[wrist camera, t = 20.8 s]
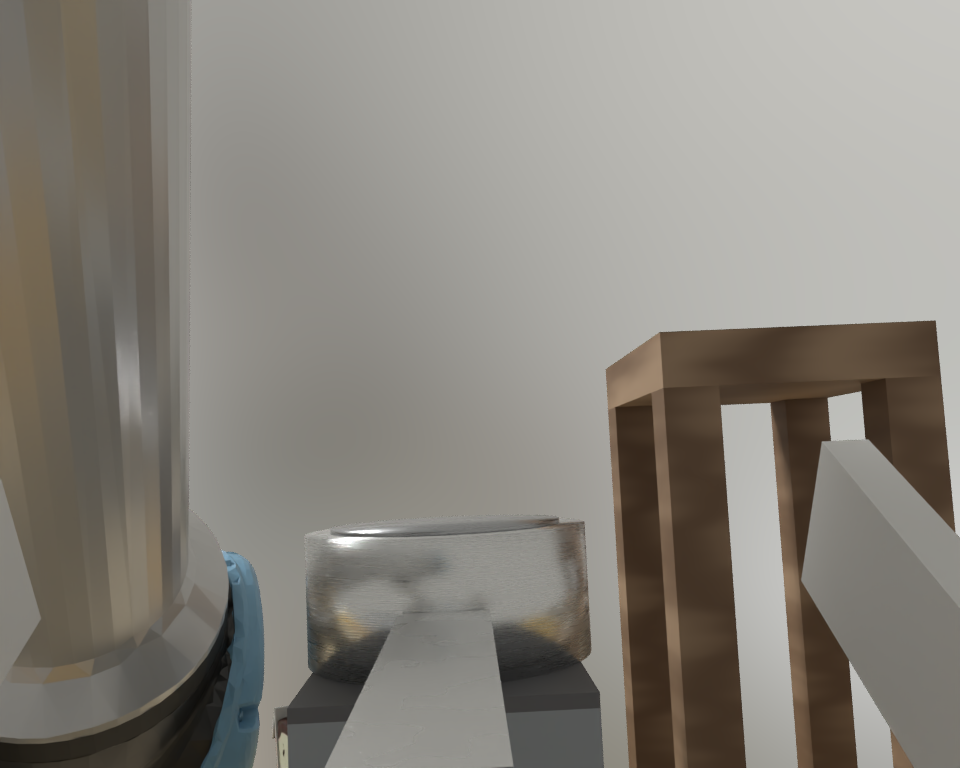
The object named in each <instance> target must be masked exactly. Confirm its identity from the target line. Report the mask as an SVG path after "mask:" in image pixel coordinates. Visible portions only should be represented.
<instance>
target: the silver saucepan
mask: <svg viewBox="0 0 960 768" xmlns="http://www.w3.org/2000/svg"><path fill="white" fill-rule="evenodd" d="M585 544H586V543H585V525H584V521H582V520H577V519H569V518H559V517H556V516H546V515H475V516H451V517H450V516H449V517H429V518H415V519H414V518H413V519H398V520H386V521H375V522H364V523H356V524H348V525H342V526H336V527H333V528H331V529H327V530H321V531H315V532H311V533H308V534H306V535H305V565H306V602H307V636H308V637H307V638H308V667H309V669H310V670H311V671H312V672H313V673H315V674H317V675H319V676H321V677H324V678H327V679H330V680H334V681H339V682H344V683H350V684H358V685H364V687H363V689H362V691H361V693H360V695H359V697H358V699H357V701H356V703H355V705H354V708H353V710H352V712H351V714H350V716H349V718H348V720H347V722H346V724H345V726H344V728H343V730H342V732H341V735H340V737H339V739H338V741H337V743H336V745H335V747H334V749H333V751H332V753H331V755H330V757H329V759H328V762H327V764H326V766H325V768H514V766H513V759H512V753H511V746H510V740H509V733H508V726H507V720H506V713H505V707H504V700H503V693H502V687H501V682H504V681H511V680H517V679H523V678H529V677H533V676H538V675H543V674H547V673H551V672H554V671H558V670H561V669H564V668H567V667H570V666H572V665H575V664H577V663H579V662H581V661H582V660H584V659H585V658H587V656H589V655H590V653H591V634H590V615H589V597H588V580H587V561H586V545H585Z"/></svg>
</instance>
